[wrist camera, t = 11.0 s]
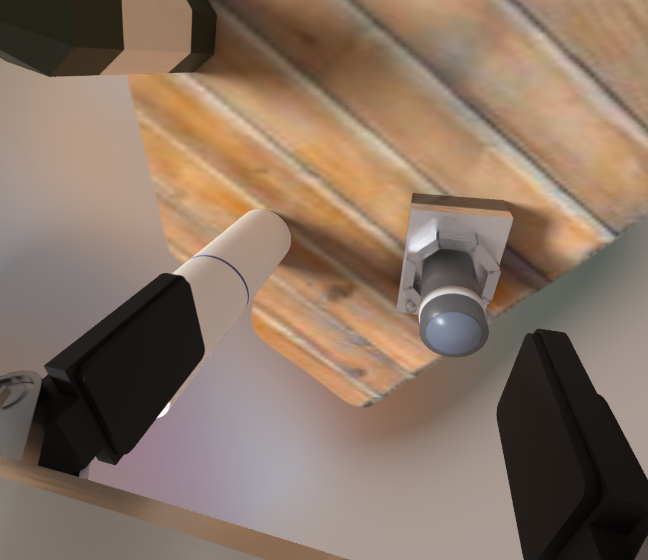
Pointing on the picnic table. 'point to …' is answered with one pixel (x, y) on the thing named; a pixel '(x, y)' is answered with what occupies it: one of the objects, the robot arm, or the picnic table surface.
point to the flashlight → (451, 305)
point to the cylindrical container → (232, 275)
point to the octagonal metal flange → (453, 241)
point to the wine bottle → (107, 36)
